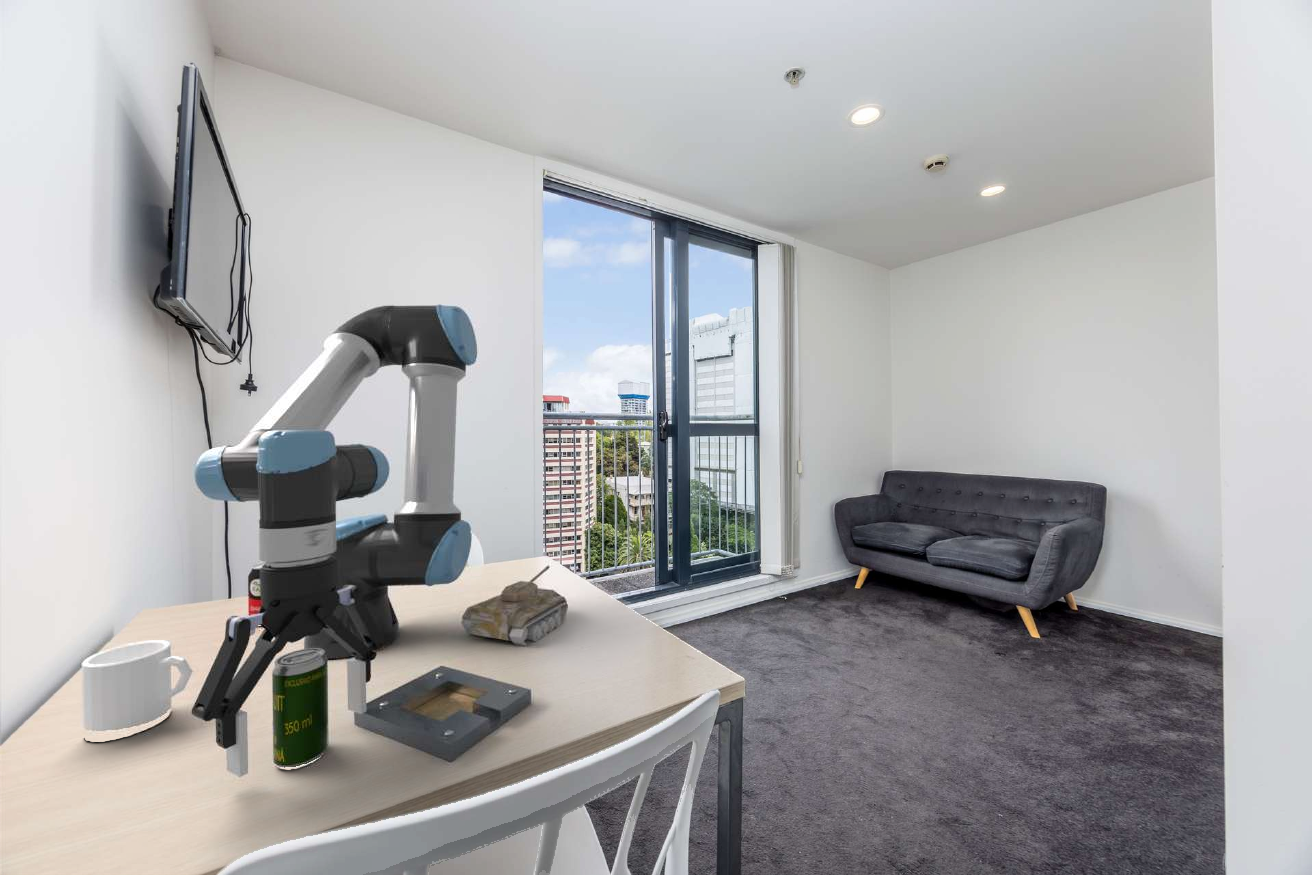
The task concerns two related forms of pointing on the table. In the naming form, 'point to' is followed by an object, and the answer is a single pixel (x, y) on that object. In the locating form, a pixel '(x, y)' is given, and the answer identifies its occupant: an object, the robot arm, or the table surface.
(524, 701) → the chassis plate
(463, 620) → the toy tank
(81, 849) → the table surface
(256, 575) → the beverage can
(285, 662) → the beer can
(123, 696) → the mug
